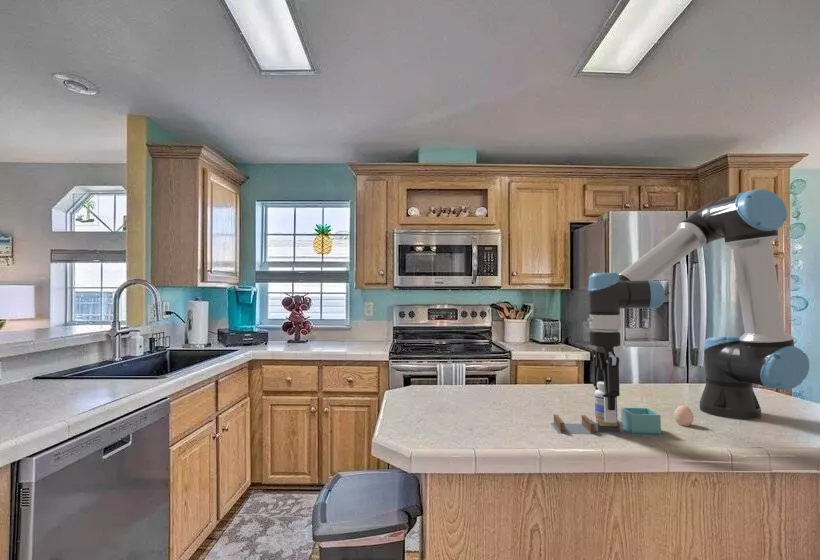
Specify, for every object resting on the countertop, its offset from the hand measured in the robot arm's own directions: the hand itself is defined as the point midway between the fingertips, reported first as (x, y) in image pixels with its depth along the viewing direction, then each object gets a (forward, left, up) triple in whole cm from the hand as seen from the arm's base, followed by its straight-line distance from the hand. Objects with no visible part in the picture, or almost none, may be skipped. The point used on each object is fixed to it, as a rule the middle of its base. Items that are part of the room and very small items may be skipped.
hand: (606, 418), depth 114 cm
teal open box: (-9, 0, -3) cm, 9 cm away
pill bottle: (0, 0, -1) cm, 1 cm away
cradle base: (0, 0, -3) cm, 3 cm away
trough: (+8, 0, -3) cm, 9 cm away
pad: (0, 0, -2) cm, 2 cm away
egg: (-23, -7, -4) cm, 24 cm away
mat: (0, 0, -3) cm, 3 cm away
